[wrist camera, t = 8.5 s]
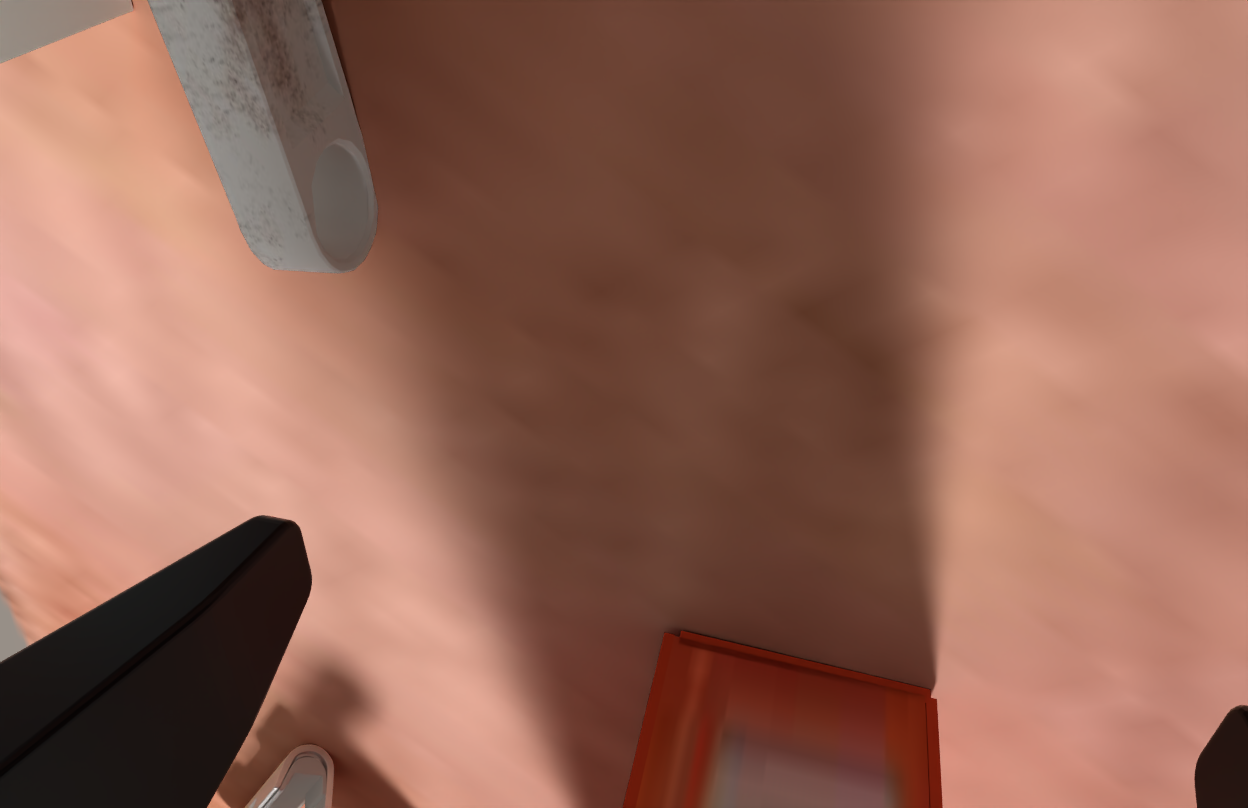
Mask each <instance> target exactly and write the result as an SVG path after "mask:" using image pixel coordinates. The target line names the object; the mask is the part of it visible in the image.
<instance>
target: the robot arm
mask: <svg viewBox="0 0 1248 808" xmlns="http://www.w3.org/2000/svg"><path fill="white" fill-rule="evenodd" d="M311 585H312V575H311V569H310V565H309V561H308V557H307V553H306V549H305V545H304V541H303V537H302V533H301V530H300V527H299V526H298V525H297V524H296V523H295V522H294V521H291V520H287V519H282V518H276V517H271V516H265V515H261V516H256V517H253V518H251V519H249V520H247V521H246V522H244V523H242V524H240V525H239V526H237V527H235V528H233V529H232V530H230V531H228V532H226V533H225V534H223V535H221V536H220V537H218V538H216V539H214V540H213V541H211V542H209V543H207V544H206V545H204V546H202V547H200V548H199V549H197V550H195V551H193V552H192V553H190V554H188V555H186V556H185V557H183V558H181V559H179V560H178V561H176V562H174V563H172V564H171V565H169V566H167V567H165V568H164V569H162V570H160V571H158V572H157V573H155V574H153V575H152V576H150V577H148V578H146V579H145V580H143V581H141V582H139V583H138V584H136V585H134V586H132V587H131V588H129V589H127V590H125V591H124V592H122V593H120V594H118V595H117V596H115V597H113V598H111V599H110V600H108V601H106V602H104V603H103V604H101V605H99V606H97V607H96V608H94V609H92V610H90V611H89V612H87V613H85V614H84V615H82V616H80V617H78V618H77V619H75V620H73V621H71V622H70V623H68V624H66V625H64V626H63V627H61V628H59V629H57V630H56V631H54V632H52V633H50V634H49V635H47V636H45V637H43V638H42V639H40V640H38V641H36V642H35V643H33V644H31V645H29V646H28V647H26V648H24V649H23V650H21V651H19V652H17V653H16V654H14V655H12V656H10V657H9V658H7V659H5V660H3V661H2V662H0V808H207V806H208V805H209V803H210V801H211V799H212V798H213V796H214V794H215V792H216V791H217V789H218V787H219V785H220V783H221V782H222V780H223V778H224V776H225V775H226V773H227V771H228V769H229V768H230V766H231V764H232V762H233V760H234V759H235V757H236V755H237V753H238V752H239V750H240V748H241V746H242V744H243V743H244V741H245V739H246V737H247V735H248V733H249V731H250V729H251V728H252V726H253V723H254V721H255V719H256V717H257V715H258V713H259V711H260V708H261V706H262V704H263V702H264V699H265V697H266V695H267V692H268V690H269V688H270V686H271V683H272V681H273V679H274V676H275V674H276V672H277V669H278V667H279V665H280V662H281V660H282V658H283V656H284V653H285V651H286V649H287V646H288V644H289V642H290V639H291V637H292V635H293V632H294V630H295V628H296V626H297V623H298V621H299V619H300V616H301V614H302V612H303V609H304V607H305V605H306V602H307V600H308V597H309V595H310V591H311ZM1195 791H1196V801H1197V808H1248V706H1247V705H1239V706H1237V707H1235V708H1233V709H1231V710H1230V711H1229V713H1228V714H1227V715H1226V717H1225V718H1224V720H1223V721H1222V723H1221V724H1220V726H1219V727H1218V729H1217V730H1216V732H1215V733H1214V735H1213V736H1212V738H1211V739H1210V741H1209V742H1208V743H1207V745H1206V746H1205V748H1204V749H1203V751H1202V752H1201V754H1200V756H1199V758H1198V761H1197V764H1196V769H1195Z"/></svg>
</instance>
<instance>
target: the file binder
mask: <svg viewBox="0 0 1248 808" xmlns="http://www.w3.org/2000/svg"><path fill="white" fill-rule="evenodd" d="M623 808H943V807H942V788H941V769H940V750H939V731H938V712H937V699H934V698H931V691H930V689H926V688H922V687H918V686H913V685H909V684H905V683H901V682H896V681H892V680H888V679H884V678H880V677H875V676H871V675H867V674H863V673H858V672H854V671H850V670H846V669H842V668H837V667H833V666H829V665H825V664H820V663H816V662H812V661H808V660H804V659H799V658H795V657H791V656H787V655H782V654H778V653H774V652H770V651H766V650H761V649H757V648H753V647H749V646H744V645H740V644H736V643H732V642H728V641H723V640H719V639H715V638H711V637H706V636H702V635H698V634H694V633H690V632H685V631H681V634H680V637H677V636H675V635H673V634H669V633H665V632H664V636H663V640H662V645H661V649H660V653H659V657H658V661H657V666H656V670H655V674H654V678H653V682H652V687H651V691H650V695H649V699H648V703H647V708H646V712H645V716H644V720H643V724H642V729H641V733H640V737H639V741H638V745H637V750H636V754H635V758H634V762H633V766H632V771H631V775H630V779H629V783H628V787H627V792H626V796H625V800H624V804H623Z"/></svg>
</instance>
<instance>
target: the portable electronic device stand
mask: <svg viewBox="0 0 1248 808" xmlns="http://www.w3.org/2000/svg"><path fill="white" fill-rule="evenodd" d="M333 781H334V764H333V761H332V759H331V757H330V756H329V754H328V753H327V752H326V751H325V750H324V749H323V748H321V747H319V746H316V745H311V744H308V745H301V746H298V747H296V748H295V749H293V750H292V751H291V752H290V753H289V754H288V755H287V757H286V758H285V759H284V760H283V761H282V763H281V764H280V765H279V766H278V767H277V769H276V770H275V771H274V772H273V774H272V775H271V776H270V777H269V778H268V780H267V781H266V782H265V783H264V784H263V786H262V787H261V788H260V789H259V791H258V792H257V793H256V794H255V795H254V797H253V798H252V799H251V800H250V801H249V803H248V804H247V805H246V806H245V808H301V807H302V806H303V805H304V804H305V808H332V795H333Z"/></svg>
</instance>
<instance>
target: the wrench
mask: <svg viewBox="0 0 1248 808" xmlns="http://www.w3.org/2000/svg"><path fill="white" fill-rule="evenodd" d="M148 3H149V5H150V8H151V10H152V13H153V15H154V17H155V20H156V22H157V25H158V27H159V30H160V32H161V35H162V37H163V40H164V42H165V45H166V47H167V49H168V52H169V54H170V57H171V59H172V62H173V64H174V67H175V69H176V72H177V74H178V76H179V79H180V81H181V84H182V86H183V89H184V91H185V94H186V96H187V99H188V101H189V104H190V106H191V108H192V111H193V113H194V116H195V118H196V121H197V123H198V126H199V128H200V131H201V133H202V136H203V138H204V140H205V143H206V145H207V148H208V150H209V153H210V155H211V158H212V160H213V163H214V165H215V168H216V170H217V172H218V175H219V177H220V180H221V182H222V185H223V187H224V190H225V192H226V194H227V197H228V199H229V202H230V204H231V207H232V209H233V211H234V214H235V217H236V219H237V222H238V225H239V228H240V230H241V232H242V234H243V236H244V238H245V240H246V242H247V244H248V245H249V247H250V249H251V251H252V252H253V253H254V254H255V255H256V256H257V258H258V259H259V260H260V261H261V262H262V263H263V264H264V265H266V266H268V267H270V268H272V269H274V270H289V271H306V272H323V273H345V272H349V271H353V270H355V269H356V268H357V267H358V266H359V265H360V264H361V263H362V262H363V261H364V260H365V258H366V256H367V254H368V252H369V250H370V248H371V246H372V243H373V240H374V238H375V235H376V229H377V219H378V204H377V199H376V195H375V190H374V186H373V181H372V177H371V172H370V168H369V163H368V159H367V155H366V150H365V146H364V141H363V137H362V133H361V130H360V127H359V124H358V121H357V118H356V115H355V111H354V107H353V104H352V100H351V96H350V93H349V89H348V86H347V83H346V80H345V76H344V73H343V70H342V67H341V63H340V60H339V57H338V53H337V50H336V47H335V44H334V40H333V37H332V34H331V30H330V27H329V24H328V21H327V17H326V14H325V11H324V7H323V4H322V1H321V0H148Z"/></svg>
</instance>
